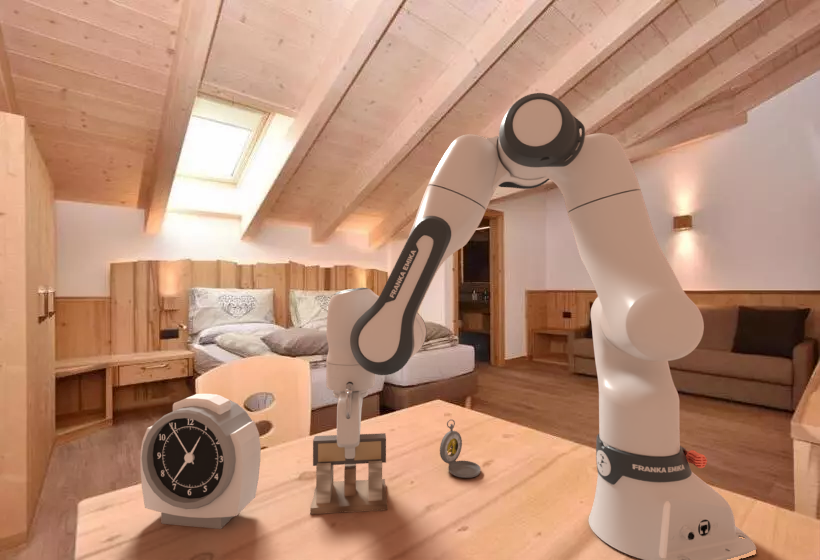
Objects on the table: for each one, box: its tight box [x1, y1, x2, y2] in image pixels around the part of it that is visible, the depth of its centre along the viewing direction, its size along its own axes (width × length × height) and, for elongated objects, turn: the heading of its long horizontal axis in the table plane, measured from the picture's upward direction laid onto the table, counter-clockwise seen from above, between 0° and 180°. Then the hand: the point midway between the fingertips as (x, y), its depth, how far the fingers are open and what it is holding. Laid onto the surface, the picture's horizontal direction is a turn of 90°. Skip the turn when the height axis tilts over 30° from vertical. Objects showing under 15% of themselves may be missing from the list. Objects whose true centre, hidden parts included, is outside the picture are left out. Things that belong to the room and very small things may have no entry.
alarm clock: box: [139, 393, 262, 530], centre depth 67 cm, size 18×8×20 cm, turn 82°
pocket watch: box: [439, 419, 482, 479], centre depth 84 cm, size 8×8×10 cm
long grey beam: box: [312, 433, 387, 467], centre depth 73 cm, size 13×2×4 cm, turn 96°
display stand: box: [309, 461, 388, 515], centre depth 73 cm, size 13×9×8 cm
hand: (350, 452), depth 73 cm, fingers closed on long grey beam, 2 cm apart
